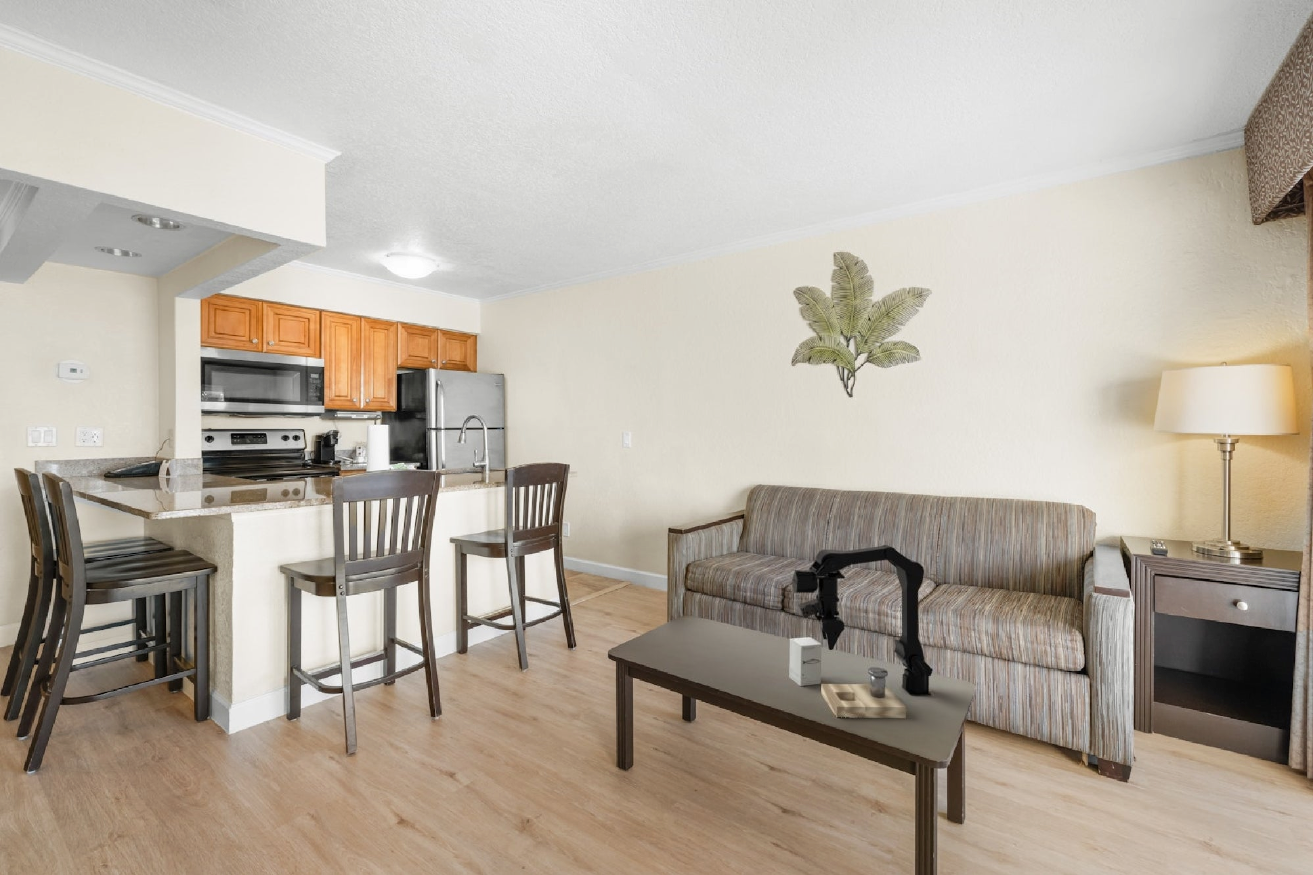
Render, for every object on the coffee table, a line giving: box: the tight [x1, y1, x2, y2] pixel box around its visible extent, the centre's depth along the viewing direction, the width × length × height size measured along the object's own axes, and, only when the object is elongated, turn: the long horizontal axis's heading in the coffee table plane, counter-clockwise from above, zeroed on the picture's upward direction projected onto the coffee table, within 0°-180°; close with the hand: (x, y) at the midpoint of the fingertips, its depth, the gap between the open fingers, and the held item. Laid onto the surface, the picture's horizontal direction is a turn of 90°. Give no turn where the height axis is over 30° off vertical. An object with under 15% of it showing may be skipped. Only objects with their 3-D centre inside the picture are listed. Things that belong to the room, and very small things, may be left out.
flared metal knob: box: [867, 666, 889, 698], centre depth 170 cm, size 5×5×7 cm
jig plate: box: [820, 683, 907, 719], centre depth 170 cm, size 19×15×3 cm
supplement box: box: [788, 636, 822, 687], centre depth 187 cm, size 7×7×13 cm
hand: (827, 644), depth 180 cm, fingers open, 9 cm apart
